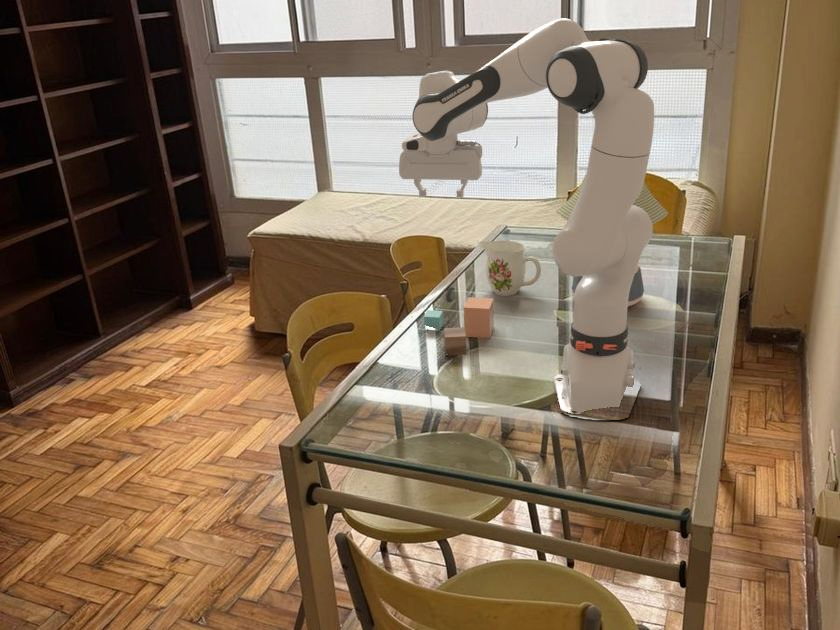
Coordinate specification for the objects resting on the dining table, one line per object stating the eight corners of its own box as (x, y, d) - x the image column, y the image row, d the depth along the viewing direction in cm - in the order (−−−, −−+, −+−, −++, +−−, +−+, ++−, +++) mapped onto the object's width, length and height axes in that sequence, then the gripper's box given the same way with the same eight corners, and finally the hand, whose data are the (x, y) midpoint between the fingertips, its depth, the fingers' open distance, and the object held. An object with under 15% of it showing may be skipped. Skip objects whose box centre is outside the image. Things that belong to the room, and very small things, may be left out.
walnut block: (466, 354, 192) (465, 336, 190) (445, 355, 192) (444, 337, 190) (464, 345, 197) (464, 327, 195) (444, 346, 197) (443, 328, 195)
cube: (439, 331, 205) (439, 317, 203) (424, 330, 206) (423, 316, 204) (443, 325, 208) (442, 311, 207) (428, 324, 209) (427, 310, 208)
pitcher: (534, 302, 218) (535, 255, 213) (472, 295, 225) (471, 249, 220) (545, 287, 228) (546, 241, 222) (485, 281, 234) (484, 236, 229)
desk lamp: (664, 322, 203) (678, 160, 186) (551, 317, 209) (554, 160, 192) (658, 283, 226) (669, 136, 209) (556, 281, 232) (559, 137, 215)
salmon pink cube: (489, 338, 200) (489, 308, 197) (464, 336, 201) (463, 307, 198) (493, 327, 206) (493, 298, 202) (469, 325, 207) (468, 297, 204)
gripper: (484, 137, 193) (485, 193, 199) (402, 137, 198) (405, 192, 203) (479, 143, 187) (480, 201, 193) (395, 143, 192) (398, 199, 198)
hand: (441, 196), depth 198 cm, fingers open, 8 cm apart
